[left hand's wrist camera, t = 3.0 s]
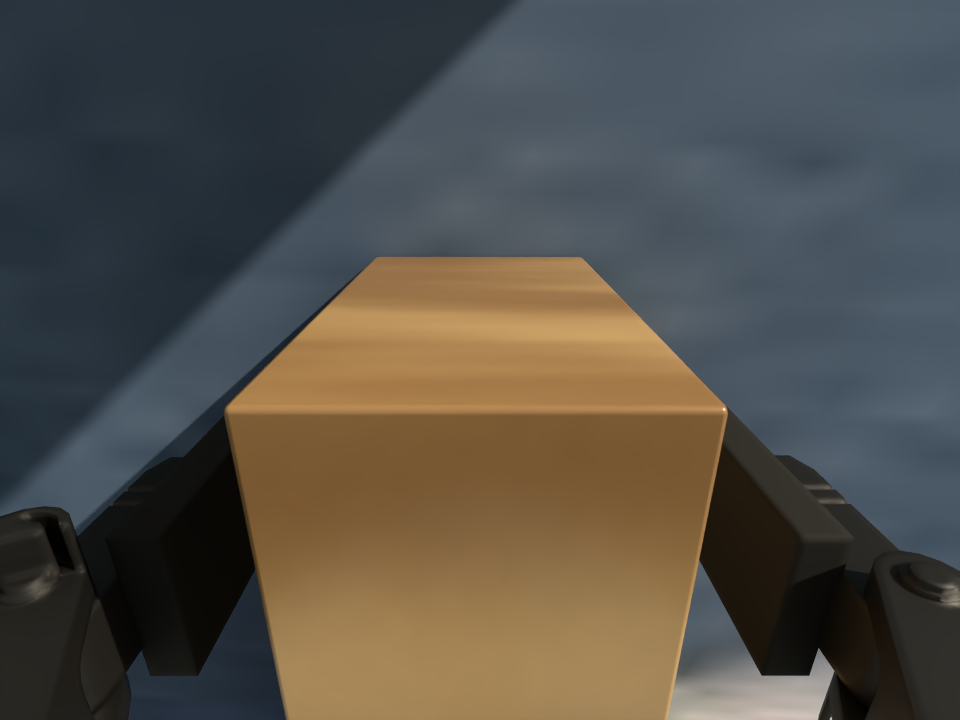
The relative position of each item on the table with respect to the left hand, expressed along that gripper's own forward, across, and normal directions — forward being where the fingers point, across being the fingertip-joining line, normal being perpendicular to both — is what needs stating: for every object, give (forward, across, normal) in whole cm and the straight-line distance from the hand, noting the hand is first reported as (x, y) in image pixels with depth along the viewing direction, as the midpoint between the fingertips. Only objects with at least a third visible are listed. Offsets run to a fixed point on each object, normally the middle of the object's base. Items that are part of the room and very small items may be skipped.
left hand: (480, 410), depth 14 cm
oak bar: (0, 0, +10) cm, 10 cm away
